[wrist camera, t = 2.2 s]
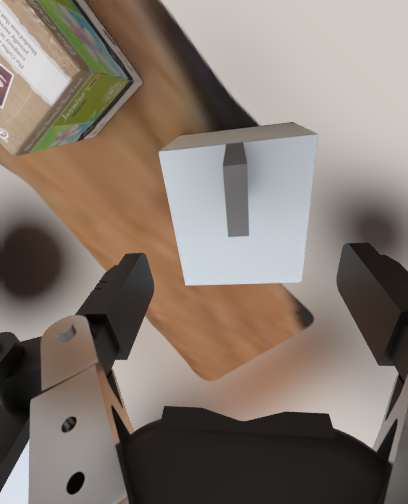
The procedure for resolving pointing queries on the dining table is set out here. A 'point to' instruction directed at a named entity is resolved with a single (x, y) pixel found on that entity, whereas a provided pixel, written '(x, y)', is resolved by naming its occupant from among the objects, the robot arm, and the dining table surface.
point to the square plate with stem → (241, 208)
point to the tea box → (57, 74)
